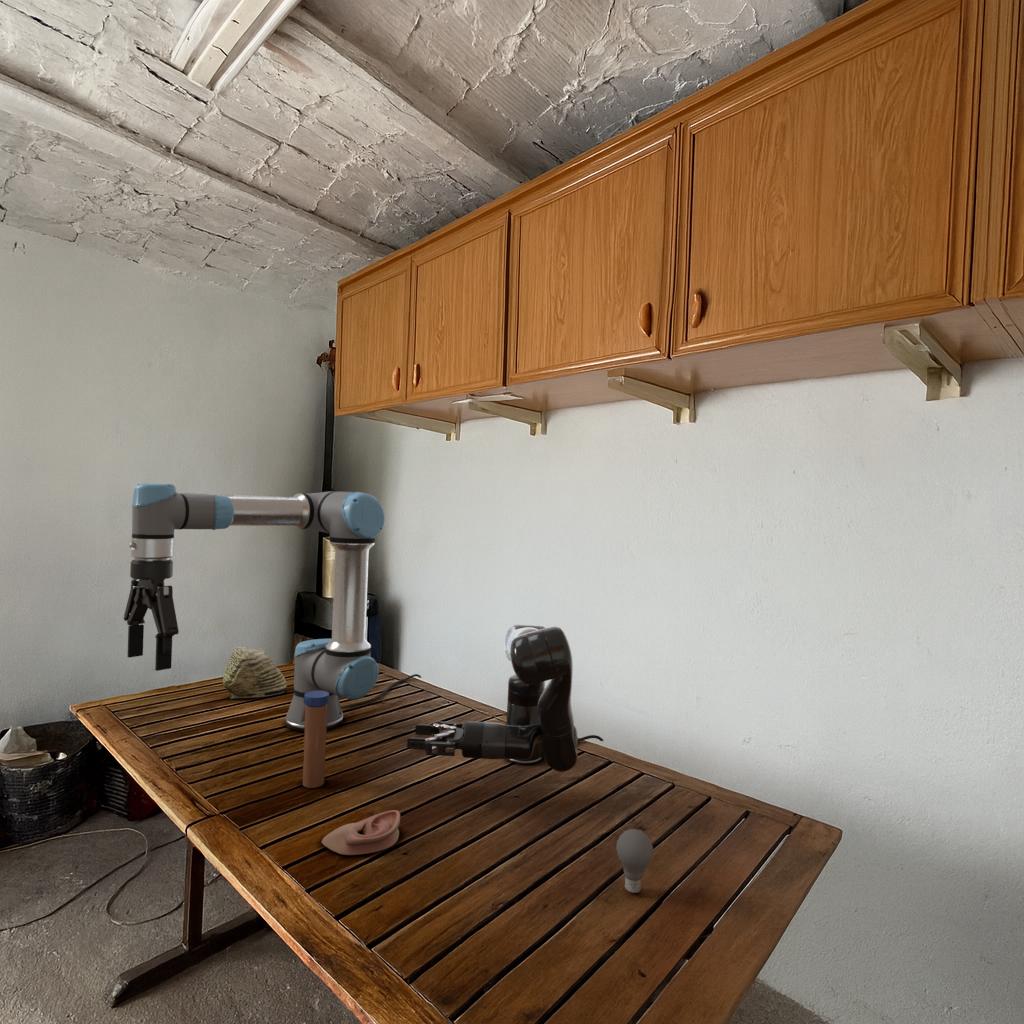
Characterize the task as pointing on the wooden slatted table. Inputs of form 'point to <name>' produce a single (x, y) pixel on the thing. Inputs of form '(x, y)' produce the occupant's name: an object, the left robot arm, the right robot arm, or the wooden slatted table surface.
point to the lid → (316, 698)
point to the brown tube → (314, 746)
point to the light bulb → (634, 857)
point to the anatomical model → (365, 835)
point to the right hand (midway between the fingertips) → (411, 735)
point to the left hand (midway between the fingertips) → (148, 662)
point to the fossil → (252, 674)
